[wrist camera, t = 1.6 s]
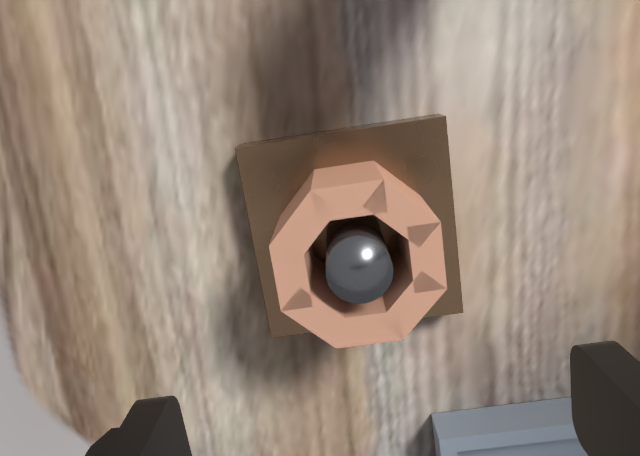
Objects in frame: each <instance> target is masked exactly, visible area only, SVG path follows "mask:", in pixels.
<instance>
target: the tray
mask: <svg viewBox="0 0 640 456" xmlns="http://www.w3.org/2000/svg"><path fill="white" fill-rule="evenodd" d="M431 416H432V425H433V434H434V443H435V452H436V456H588V455H587V453H586V452H585V451H584V449H583V448H582V446H581V444H580V442H579V440H578V438H577V435H576V432H575V429H574V425H573V420H572V407H571V397H566V398H558V399H550V400H541V401H533V402H525V403H517V404H508V405H500V406H492V407H483V408H475V409H467V410H459V411H450V412H442V413H434V414H431Z"/></svg>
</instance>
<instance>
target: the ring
mask: <svg viewBox="0 0 640 456" xmlns="http://www.w3.org/2000/svg"><path fill="white" fill-rule="evenodd" d="M367 215H375V216H377V217H378V218H379V219H381V220H382V221H383V222H385V223H386V224H387V225H389V226H390V227H392V228H393V229H394V230H396V231H397V240H398V245H397V246H396V248H395V249H394V250H393V251H392V252H391V254H390V258H391V261H392V264H393V279H392V282H391V284H390V286H389V288H388V289H387V291H386V292H385V293H384V294H383V295H382V296H381V297H379V298H378V299H376V300H374V301H372V302H369V303H364V304H355V303H350V302H347V301H344V300H342V299H341V298H339V297H338V296H336V295H335V294H334V293H333V291H332V290H331V289H330V287H329V285H328V282H327V279H326V264H325V263H323V262H322V261H320V260H319V259H317V258H316V257H315V256H314V253H313V247H312V243H313V242H314V241H315V239H316V238H317V237H318V235H319V234H320V233H321V232H322V230H323V229H324V228H325V226H326V225H327V224H328V222H329V221H332V220H339V219H346V218H353V217H360V216H367ZM269 250H270V255H271V261H272V266H273V271H274V277H275V282H276V288H277V293H278V298H279V304H280V309H281V312H283V313H284V314H286V315H287V316H289V317H290V318H292V319H293V320H295V321H296V322H298V323H299V324H301V325H302V326H303V327H305V328H306V329H308V330H309V331H311V332H312V333H314V334H315V335H317V336H318V337H320V338H321V339H323V340H324V341H326V342H327V343H329V344H330V345H332V346H333V347H334V348H344V347H351V346H359V345H367V344H375V343H383V342H390V341H398V340H404V338H405V337H406V336H407V335H408V334H409V333H410V332H411V330H412V329H413V328H414V327H415V326H416V325H417V323H418V322H419V321H420V320H421V319H422V318H423V316H424V315H425V314H426V313H427V312H428V311H429V310H430V308H431V307H432V306H433V305H434V304H435V303H436V301H437V300H438V299H439V298H440V297H441V296H442V294H443V293H444V292H445V291H446V290H447V281H446V271H445V260H444V250H443V239H442V229H441V221H440V220H439V219H438V218H437V216H436V215H435V214H434V213H433V211H432V210H431V209H430V207H429V206H428V205H427V204H426V202H425V201H424V200H423V198H422V197H421V196H420V195H419V194H418V193H416V192H415V191H414V190H412V189H411V188H410V187H408V186H407V185H406V184H404V183H403V182H402V181H400V180H399V179H398V178H396V177H395V176H394V175H392V174H391V173H390V172H388V171H387V170H386V169H384V168H383V167H382V166H380V165H379V164H378V163H376V162H375V161H367V162H360V163H353V164H347V165H340V166H333V167H326V168H320V169H314V170H313V172H312V173H311V174H310V176H309V177H308V178H307V180H306V181H305V182H304V184H303V185H302V187H301V188H300V189H299V191H298V192H297V193H296V195H295V196H294V197H293V199H292V200H291V201H290V203H289V204H288V205H287V207H286V208H285V210H284V211H283V212H282V214H281V215H280V217H279V220H278V222H277V225H276V228H275V231H274V233H273V236H272V239H271V242H270V244H269Z"/></svg>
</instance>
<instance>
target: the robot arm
mask: <svg viewBox="0 0 640 456" xmlns="http://www.w3.org/2000/svg"><path fill="white" fill-rule="evenodd" d="M570 370H571V407H572V420H573V425H574V429H575V432H576V435H577V438H578V440H579V442H580V444H581V446H582V448H583V449H584V451H585V452H586V453H587V455H588V456H640V362H639V361H638V360H636V359H635V358H634V357H633V356H632V355H631V354H630V353H629V352H627V351H626V350H625V349H624V348H623V347H622V346H621V345H620V344H618V343H617V342H615V341H606V342H598V343H590V344H582V345H575V346H573V347H572V349H571V354H570ZM85 456H192V454H191V450H190V446H189V442H188V437H187V433H186V429H185V425H184V421H183V417H182V413H181V409H180V405H179V402H178V400H177V398H176V397H175V396H166V397H158V398H150V399H142V400H137V401H136V402H135V403H134V404H133V406H132V408H131V409H130V411H129V413H128V414H127V416H126V418H125V419H124V421H123V423H122V425H121V426H120V428H112V429H110V430H109V431H108V432H107V433H106V434H104V435H103V436H102V437H101V438H100V439H99V440H98V441H96V442H95V443H94V444H93V445H92V446H91V447H90V448H89V450H88V451H87V453H86V455H85Z"/></svg>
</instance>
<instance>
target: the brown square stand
mask: <svg viewBox="0 0 640 456" xmlns="http://www.w3.org/2000/svg"><path fill="white" fill-rule="evenodd" d="M235 151H236V156H237V161H238V167H239V172H240V177H241V182H242V187H243V193H244V198H245V203H246V208H247V213H248V218H249V224H250V229H251V234H252V239H253V244H254V250H255V255H256V260H257V265H258V270H259V275H260V281H261V286H262V291H263V296H264V301H265V307H266V312H267V317H268V322H269V327H270V332H271V338H273V337H281V336H288V335H296V334H304V333H311V331H309V330H308V329H306V328H305V327H303V326H302V325H301V324H299V323H298V322H296V321H295V320H293V319H292V318H290V317H289V316H287V315H286V314H284V313H283V312H281V309H280V304H279V298H278V293H277V288H276V282H275V277H274V271H273V266H272V261H271V255H270V250H269V244H270V242H271V239H272V236H273V233H274V231H275V228H276V225H277V222H278V220H279V217H280V215H281V214H282V212H283V211H284V210H285V208H286V207H287V205H288V204H289V203H290V201H291V200H292V199H293V197H294V196H295V195H296V193H297V192H298V191H299V189H300V188H301V187H302V185H303V184H304V182H305V181H306V180H307V178H308V177H309V176H310V174H311V173H312V172H313V170H314V169H320V168H326V167H333V166H340V165H347V164H353V163H360V162H367V161H375V162H376V163H378V164H379V165H380V166H382V167H383V168H384V169H386V170H387V171H388V172H390V173H391V174H392V175H394V176H395V177H396V178H398V179H399V180H400V181H402V182H403V183H404V184H406V185H407V186H408V187H410V188H411V189H412V190H414V191H415V192H416V193H418V194H419V195H420V196H421V197H422V198H423V200H424V201H425V202H426V204H427V205H428V206H429V207H430V209H431V210H432V211H433V213H434V214H435V215H436V216H437V218H438V219H439V220H440V221H441V229H442V239H443V250H444V260H445V271H446V281H447V290H446V291H445V292H444V293H443V294H442V296H441V297H440V298H439V299H438V300H437V301H436V303H435V304H434V305H433V306H432V307H431V308H430V310H429V311H428V312H427V313H426V314H425V315H424V316H423V318H426V317H434V316H441V315H449V314H457V313H463V304H462V293H461V282H460V270H459V259H458V248H457V236H456V225H455V214H454V203H453V191H452V180H451V169H450V157H449V146H448V135H447V123H446V116H444V115H441V114H435V115H428V116H422V117H415V118H409V119H402V120H396V121H389V122H382V123H376V124H369V125H363V126H356V127H350V128H343V129H336V130H330V131H323V132H317V133H310V134H304V135H297V136H290V137H284V138H277V139H271V140H264V141H258V142H251V143H244V144H240V145H239V146H237V147H236V148H235ZM397 245H398V240H397V231H396V230H394V229H393V228H392V227H390V226H389V225H387V224H386V223H385V222H383V221H382V220H381V219H379V218H378V217H377V216H375V215H367V216H360V217H353V218H346V219H339V220H332V221H329V222H328V224H327V225H326V226H325V228H324V229H323V230H322V232H321V233H320V234H319V235H318V237H317V238H316V239H315V241H314V242H313V243H312V247H313V253H314V256H315V257H316V258H317V259H319V260H320V261H322V262H323V263H325V264H326V279H327V282H328V285H329V287H330V289H331V290H332V291H333V293H334V294H335V295H336V296H338V297H339V298H341V299H342V300H344V301H347V302H350V303H355V304H364V303H369V302H372V301H374V300H376V299H378V298H379V297H381V296H382V295H383V294H384V293H385V292H386V291H387V289H388V288H389V286H390V284H391V282H392V279H393V264H392V261H391V258H390V254H391V252H392V251H393V250H394V249H395V248H396V246H397Z"/></svg>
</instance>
